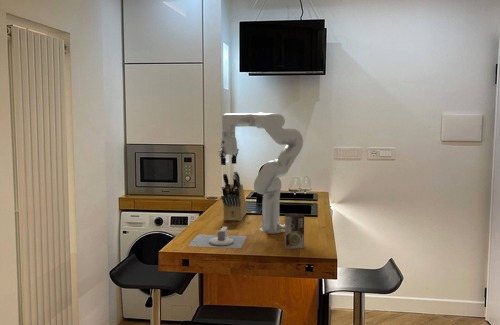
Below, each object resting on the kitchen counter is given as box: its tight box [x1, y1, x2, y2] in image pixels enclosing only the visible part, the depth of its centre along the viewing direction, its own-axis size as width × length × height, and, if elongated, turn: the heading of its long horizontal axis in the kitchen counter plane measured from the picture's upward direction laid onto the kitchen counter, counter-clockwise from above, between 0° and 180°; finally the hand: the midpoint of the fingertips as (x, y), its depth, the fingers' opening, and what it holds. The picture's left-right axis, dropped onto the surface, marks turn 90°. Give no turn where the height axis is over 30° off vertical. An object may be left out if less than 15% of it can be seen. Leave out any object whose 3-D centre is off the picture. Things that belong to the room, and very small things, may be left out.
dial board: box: [187, 234, 248, 249], centre depth 255 cm, size 26×24×2 cm
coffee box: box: [284, 213, 305, 249], centre depth 250 cm, size 9×6×16 cm
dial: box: [209, 226, 233, 245], centre depth 254 cm, size 18×12×5 cm, turn 173°
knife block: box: [220, 170, 248, 222], centre depth 316 cm, size 11×35×31 cm, turn 172°
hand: (228, 164), depth 297 cm, fingers open, 9 cm apart
